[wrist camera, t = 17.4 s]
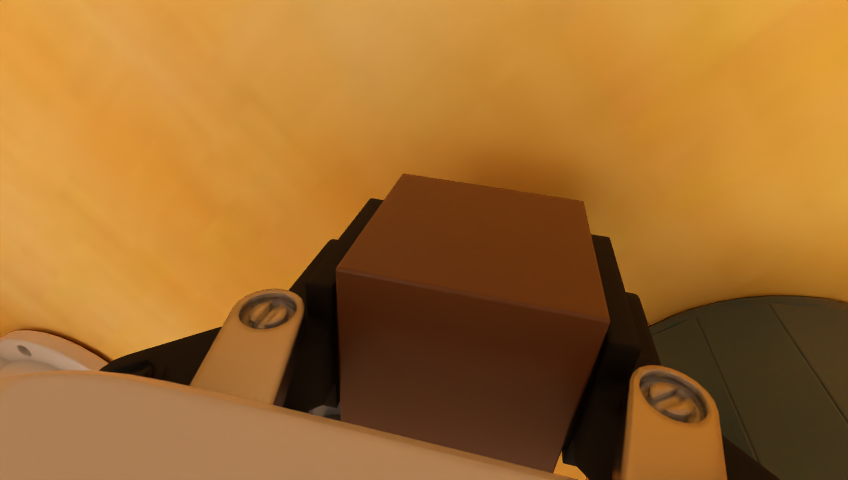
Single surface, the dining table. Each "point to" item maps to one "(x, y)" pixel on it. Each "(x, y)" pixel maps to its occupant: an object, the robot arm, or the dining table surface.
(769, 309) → the cup
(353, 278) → the brown cube
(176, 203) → the dining table surface
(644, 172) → the dining table surface
